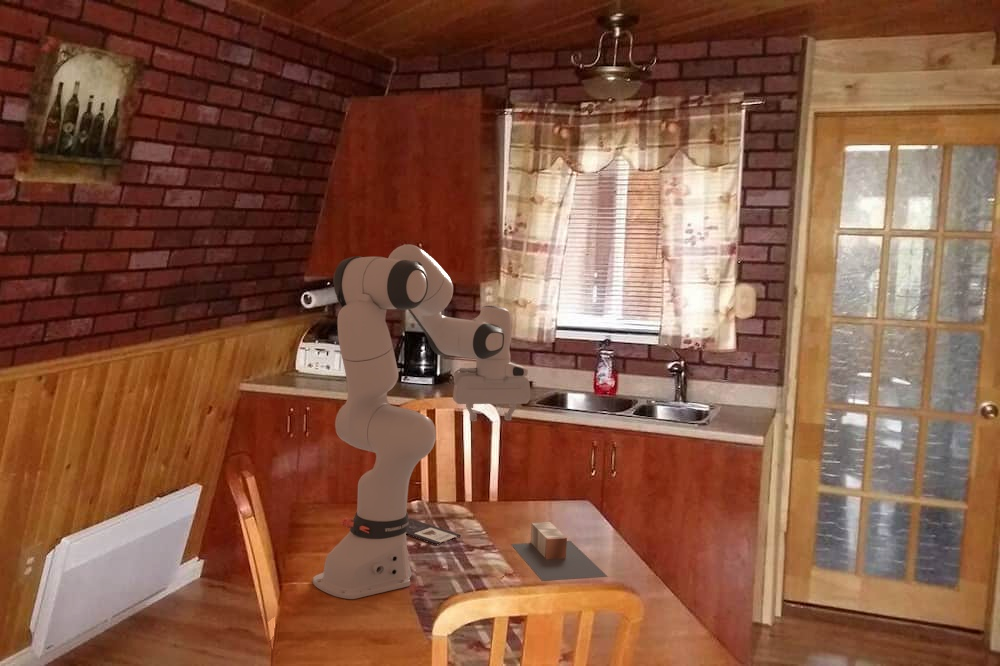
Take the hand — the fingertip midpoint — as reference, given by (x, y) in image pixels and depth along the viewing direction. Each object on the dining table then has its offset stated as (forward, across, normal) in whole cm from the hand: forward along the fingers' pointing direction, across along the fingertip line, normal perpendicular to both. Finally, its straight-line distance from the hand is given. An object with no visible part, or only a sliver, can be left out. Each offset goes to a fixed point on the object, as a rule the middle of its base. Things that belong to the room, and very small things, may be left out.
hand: (490, 420), depth 238 cm
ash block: (+26, +10, -14) cm, 31 cm away
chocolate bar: (+30, -17, -1) cm, 34 cm away
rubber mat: (+29, +10, -26) cm, 41 cm away
